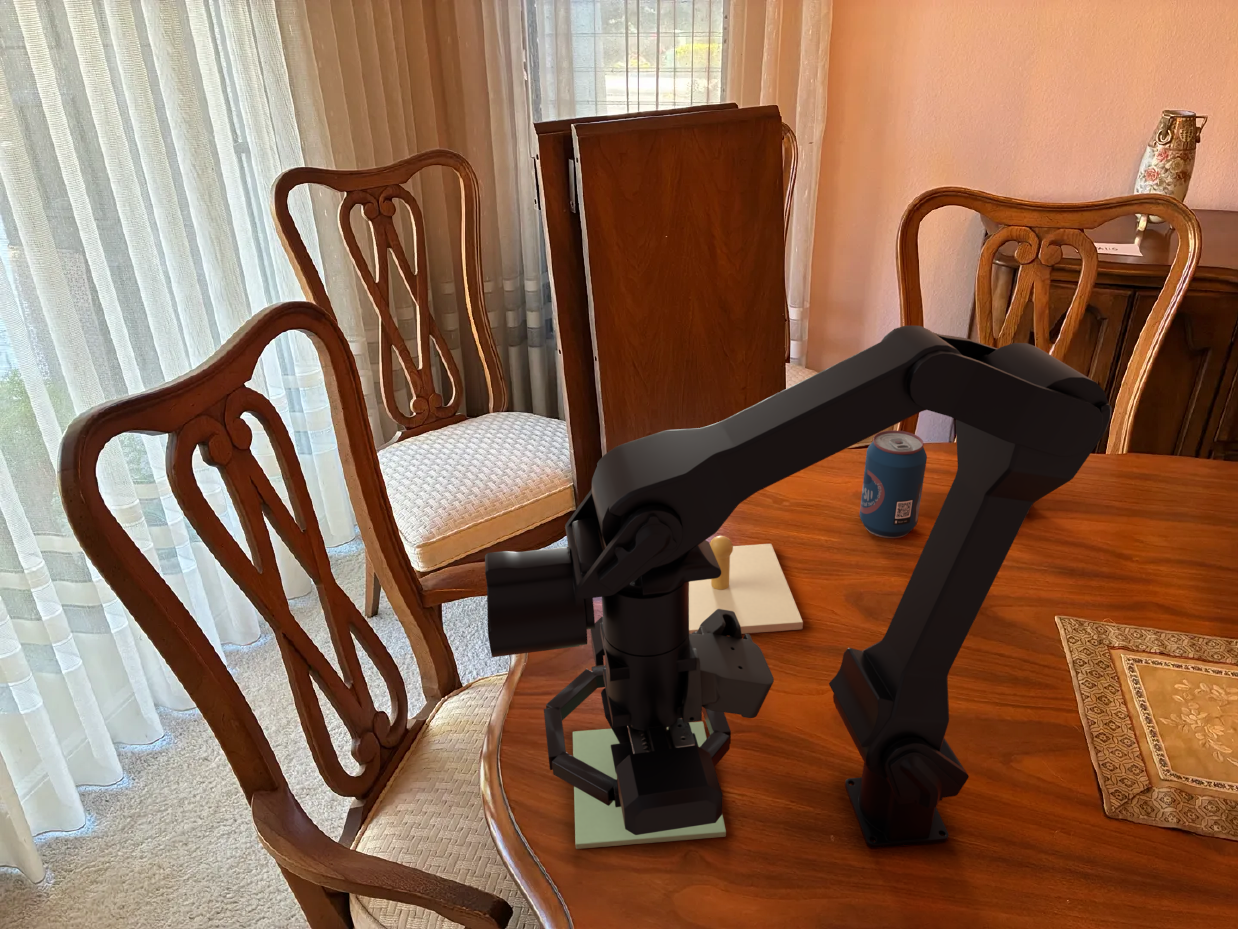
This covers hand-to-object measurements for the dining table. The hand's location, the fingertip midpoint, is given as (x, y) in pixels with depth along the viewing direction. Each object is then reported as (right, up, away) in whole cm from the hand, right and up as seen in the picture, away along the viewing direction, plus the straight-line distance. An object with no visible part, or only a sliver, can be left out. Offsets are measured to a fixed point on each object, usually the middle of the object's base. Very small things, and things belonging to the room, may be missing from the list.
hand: (651, 792), depth 64 cm
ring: (-1, +3, +6) cm, 7 cm away
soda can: (+31, +17, +43) cm, 56 cm away
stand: (+9, +10, +32) cm, 35 cm away
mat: (0, -3, +9) cm, 9 cm away
